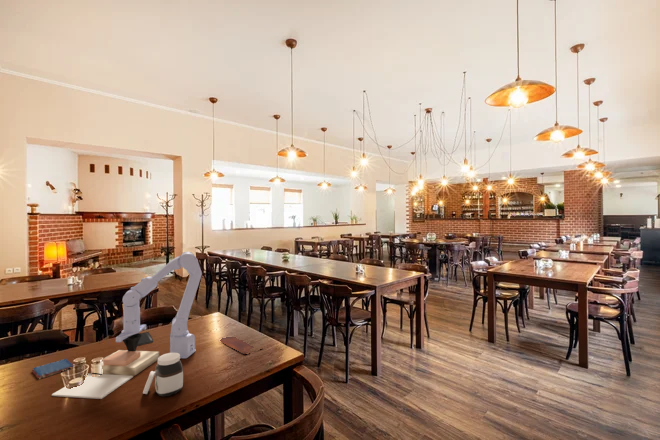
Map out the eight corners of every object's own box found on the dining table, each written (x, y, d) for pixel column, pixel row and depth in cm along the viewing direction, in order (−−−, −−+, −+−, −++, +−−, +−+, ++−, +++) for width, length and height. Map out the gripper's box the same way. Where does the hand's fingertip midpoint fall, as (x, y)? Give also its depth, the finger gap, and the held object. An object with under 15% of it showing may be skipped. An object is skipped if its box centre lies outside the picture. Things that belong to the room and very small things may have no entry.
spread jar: (186, 392, 105) (186, 357, 105) (148, 406, 97) (148, 369, 97) (174, 379, 114) (174, 347, 114) (138, 391, 106) (138, 357, 106)
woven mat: (30, 372, 119) (30, 367, 119) (66, 362, 128) (66, 357, 128) (37, 381, 113) (37, 375, 113) (74, 370, 122) (74, 364, 122)
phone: (148, 331, 159) (153, 340, 148) (148, 333, 159) (153, 342, 148) (130, 335, 154) (134, 344, 143) (130, 337, 154) (134, 347, 143)
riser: (159, 358, 130) (159, 351, 130) (134, 375, 116) (134, 367, 116) (119, 357, 132) (119, 350, 132) (90, 373, 118) (90, 365, 118)
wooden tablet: (264, 350, 140) (264, 346, 140) (245, 357, 133) (245, 353, 133) (233, 335, 158) (233, 331, 158) (214, 340, 151) (214, 337, 151)
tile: (140, 356, 125) (140, 351, 125) (125, 365, 117) (125, 360, 117) (119, 355, 126) (119, 350, 126) (103, 364, 118) (103, 359, 118)
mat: (132, 377, 115) (132, 375, 115) (101, 398, 101) (101, 397, 101) (88, 374, 117) (88, 373, 117) (51, 395, 103) (51, 394, 103)
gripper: (135, 314, 134) (135, 345, 135) (108, 325, 120) (108, 360, 120) (150, 314, 134) (150, 346, 134) (125, 326, 119) (125, 361, 119)
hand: (131, 352), depth 127 cm, fingers closed
